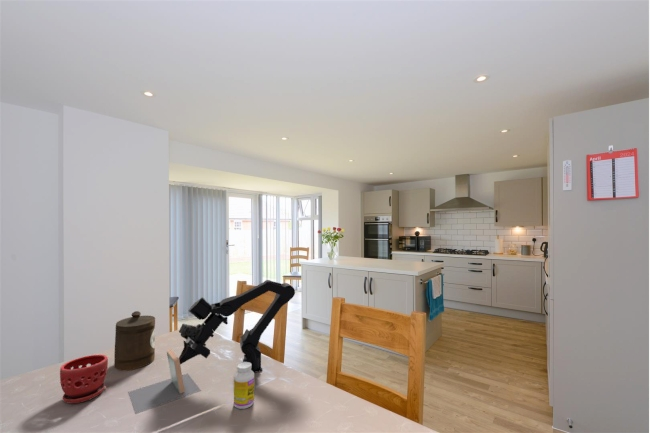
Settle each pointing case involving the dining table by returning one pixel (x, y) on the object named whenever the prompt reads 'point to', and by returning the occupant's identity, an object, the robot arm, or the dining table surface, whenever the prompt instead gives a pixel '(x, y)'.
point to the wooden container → (134, 342)
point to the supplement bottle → (244, 386)
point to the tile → (175, 371)
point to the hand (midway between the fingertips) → (177, 364)
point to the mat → (160, 393)
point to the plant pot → (83, 378)
